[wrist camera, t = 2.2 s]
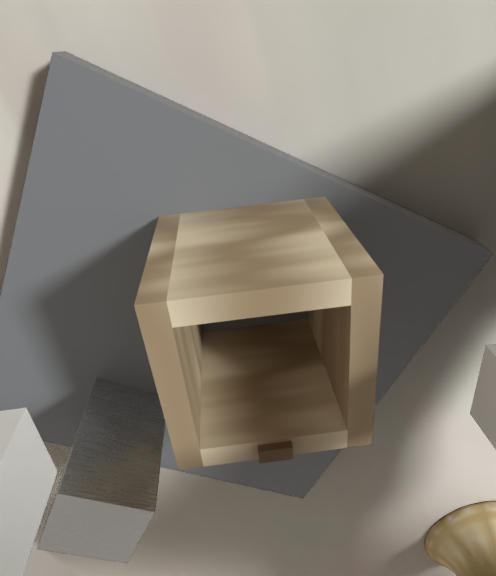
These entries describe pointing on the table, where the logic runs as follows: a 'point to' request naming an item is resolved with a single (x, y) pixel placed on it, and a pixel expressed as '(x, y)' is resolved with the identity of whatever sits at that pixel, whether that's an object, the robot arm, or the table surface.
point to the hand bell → (466, 540)
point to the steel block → (108, 476)
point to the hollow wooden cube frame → (261, 332)
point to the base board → (138, 237)
